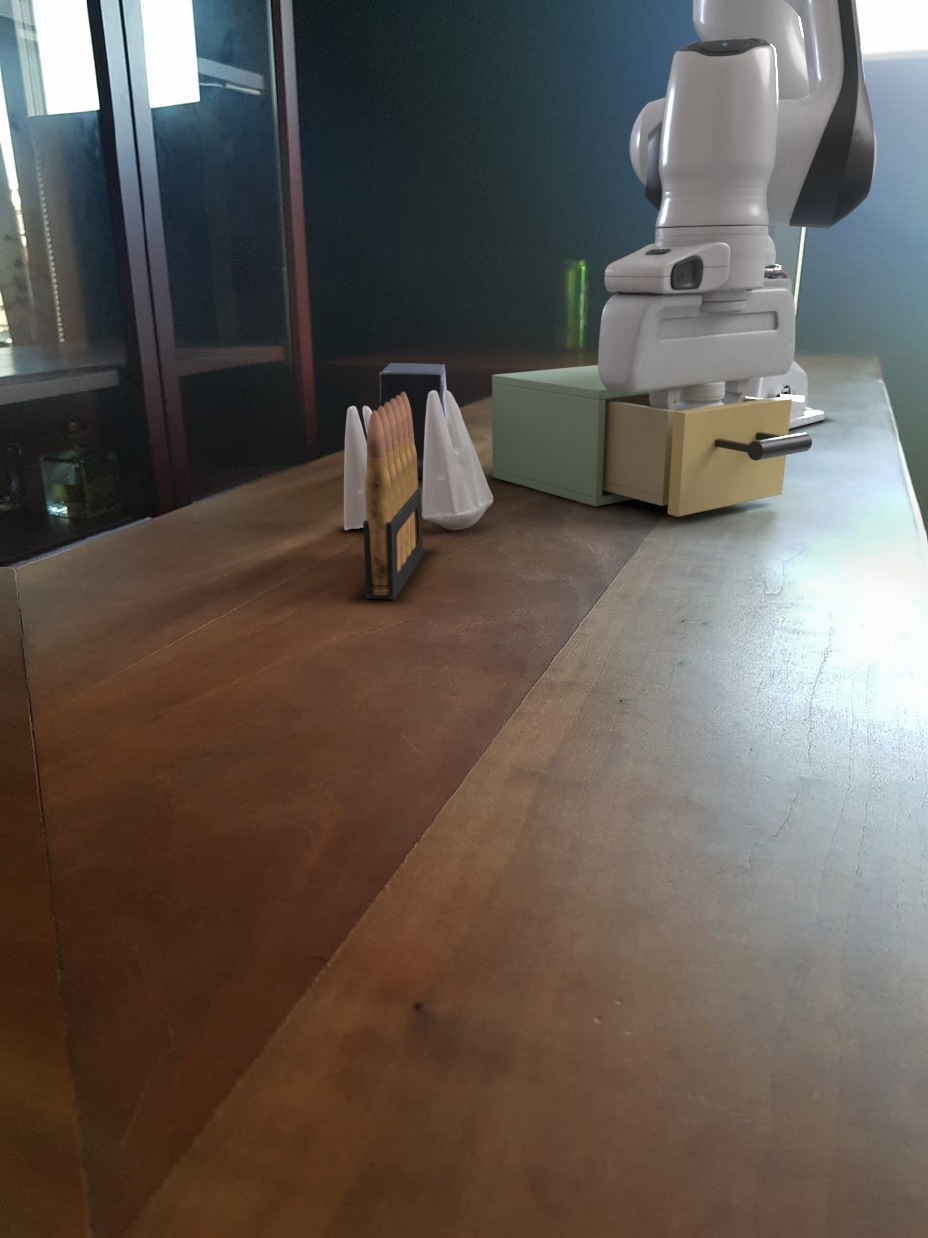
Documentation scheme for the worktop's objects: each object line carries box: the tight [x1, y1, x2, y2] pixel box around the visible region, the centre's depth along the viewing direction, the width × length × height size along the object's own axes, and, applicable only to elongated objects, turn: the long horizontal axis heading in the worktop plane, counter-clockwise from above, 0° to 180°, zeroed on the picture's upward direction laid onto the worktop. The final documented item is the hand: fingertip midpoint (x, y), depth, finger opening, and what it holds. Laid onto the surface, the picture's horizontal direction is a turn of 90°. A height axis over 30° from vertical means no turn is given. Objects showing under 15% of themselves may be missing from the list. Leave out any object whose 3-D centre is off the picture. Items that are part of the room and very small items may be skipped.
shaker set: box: [343, 389, 494, 531], centre depth 76 cm, size 12×4×11 cm, turn 81°
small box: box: [378, 362, 447, 479], centre depth 98 cm, size 11×6×10 cm, turn 179°
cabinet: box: [491, 364, 650, 507], centre depth 91 cm, size 16×14×10 cm
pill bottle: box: [674, 382, 725, 411], centre depth 81 cm, size 5×5×8 cm
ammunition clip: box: [362, 392, 424, 601], centre depth 64 cm, size 11×2×12 cm, turn 172°
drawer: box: [602, 394, 813, 518], centre depth 82 cm, size 19×13×8 cm, turn 34°
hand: (696, 437), depth 82 cm, fingers closed on pill bottle, 5 cm apart
